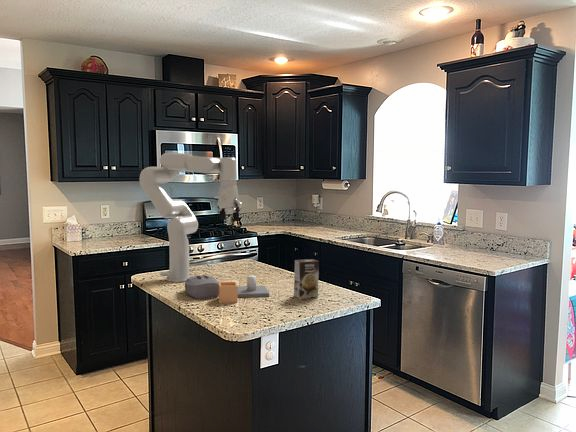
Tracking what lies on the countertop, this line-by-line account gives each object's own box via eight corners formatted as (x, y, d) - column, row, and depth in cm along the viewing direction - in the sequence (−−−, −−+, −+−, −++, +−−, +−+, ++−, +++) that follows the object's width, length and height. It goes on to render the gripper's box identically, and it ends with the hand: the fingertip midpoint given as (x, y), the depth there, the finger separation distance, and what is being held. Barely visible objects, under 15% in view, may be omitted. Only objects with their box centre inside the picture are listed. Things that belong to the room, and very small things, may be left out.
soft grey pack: (224, 297, 205) (211, 287, 223) (225, 278, 205) (211, 269, 222) (190, 301, 199) (179, 290, 217) (190, 281, 198) (179, 272, 216)
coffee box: (299, 299, 203) (300, 262, 202) (293, 295, 209) (294, 259, 208) (318, 297, 207) (319, 260, 205) (312, 294, 213) (312, 258, 211)
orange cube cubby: (219, 302, 196) (219, 286, 195) (218, 298, 203) (218, 282, 202) (237, 302, 197) (237, 285, 196) (236, 297, 204) (236, 281, 204)
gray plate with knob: (236, 297, 205) (237, 280, 204) (234, 289, 218) (234, 273, 218) (269, 296, 207) (269, 279, 206) (265, 288, 221) (265, 272, 220)
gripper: (210, 184, 226) (211, 220, 227) (234, 184, 214) (235, 222, 215) (223, 183, 231) (224, 219, 232) (246, 183, 219) (247, 220, 220)
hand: (229, 220), depth 224 cm, fingers open, 9 cm apart
